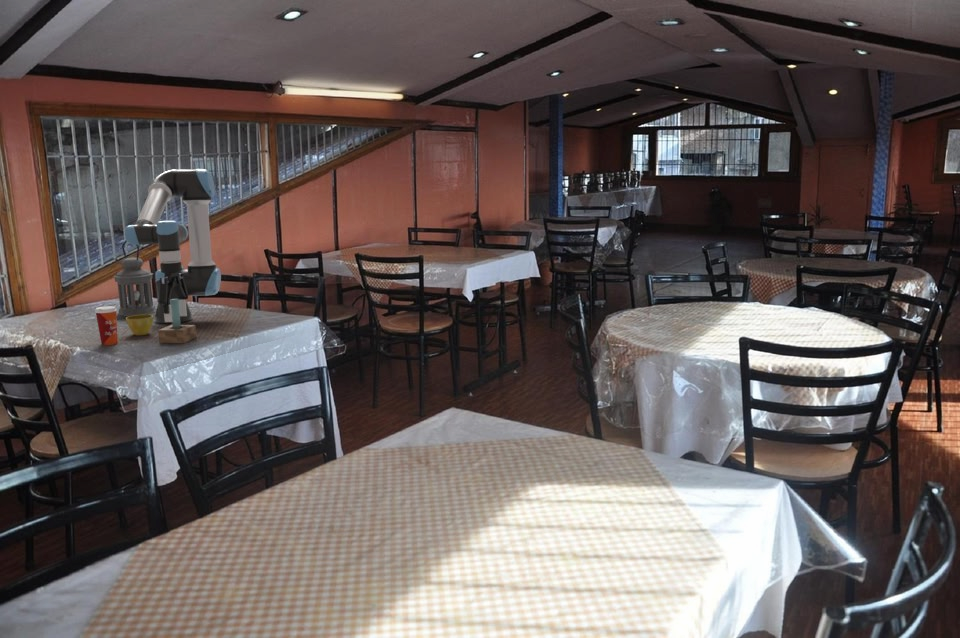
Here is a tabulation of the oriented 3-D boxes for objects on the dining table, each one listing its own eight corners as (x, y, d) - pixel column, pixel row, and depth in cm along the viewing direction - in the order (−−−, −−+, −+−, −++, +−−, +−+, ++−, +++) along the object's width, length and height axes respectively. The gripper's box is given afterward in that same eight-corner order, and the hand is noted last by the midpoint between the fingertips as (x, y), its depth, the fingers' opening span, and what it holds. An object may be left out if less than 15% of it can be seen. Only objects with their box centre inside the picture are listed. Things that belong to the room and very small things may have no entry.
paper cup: (112, 346, 297) (107, 309, 295) (94, 345, 299) (89, 309, 296) (125, 341, 305) (121, 306, 302) (107, 341, 306) (103, 305, 304)
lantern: (164, 309, 371) (157, 235, 364) (141, 316, 355) (133, 238, 348) (133, 308, 375) (125, 235, 368) (109, 315, 359) (100, 238, 353)
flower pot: (141, 330, 324) (139, 313, 323) (160, 332, 321) (158, 315, 319) (122, 336, 315) (120, 318, 314) (141, 337, 312) (139, 319, 310)
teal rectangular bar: (176, 339, 307) (172, 298, 304) (183, 339, 307) (179, 298, 304) (172, 341, 304) (168, 300, 301) (179, 341, 304) (175, 300, 301)
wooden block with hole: (172, 337, 311) (171, 324, 310) (196, 337, 310) (195, 324, 309) (159, 342, 301) (158, 330, 300) (184, 343, 300) (182, 330, 299)
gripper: (176, 258, 311) (181, 313, 316) (144, 265, 289) (151, 324, 293) (194, 258, 310) (199, 313, 315) (164, 265, 288) (170, 325, 292)
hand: (176, 318), depth 304 cm, fingers open, 10 cm apart
